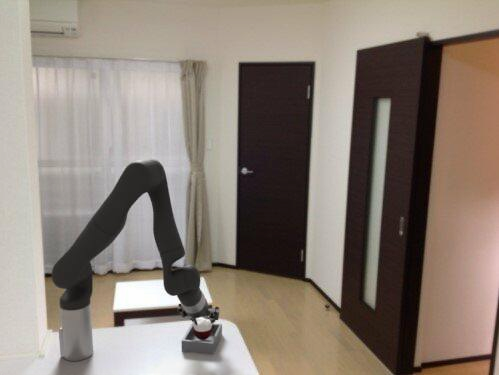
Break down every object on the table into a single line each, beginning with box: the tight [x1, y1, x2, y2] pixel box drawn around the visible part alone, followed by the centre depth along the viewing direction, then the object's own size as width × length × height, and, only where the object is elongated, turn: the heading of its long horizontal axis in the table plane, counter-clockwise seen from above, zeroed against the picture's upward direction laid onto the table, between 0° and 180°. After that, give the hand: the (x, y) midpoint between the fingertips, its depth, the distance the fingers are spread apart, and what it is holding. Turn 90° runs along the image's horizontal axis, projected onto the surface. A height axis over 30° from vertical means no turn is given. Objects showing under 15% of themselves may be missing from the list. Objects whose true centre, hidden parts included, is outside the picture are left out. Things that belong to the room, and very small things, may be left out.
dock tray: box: [181, 322, 223, 356], centre depth 161 cm, size 11×14×4 cm
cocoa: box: [193, 317, 214, 340], centre depth 160 cm, size 10×6×12 cm, turn 102°
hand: (203, 319), depth 162 cm, fingers closed on cocoa, 6 cm apart
